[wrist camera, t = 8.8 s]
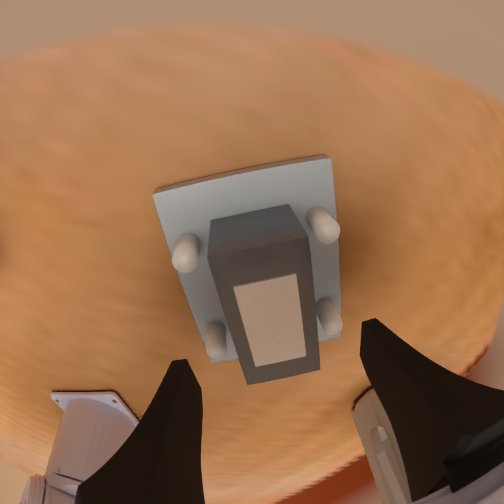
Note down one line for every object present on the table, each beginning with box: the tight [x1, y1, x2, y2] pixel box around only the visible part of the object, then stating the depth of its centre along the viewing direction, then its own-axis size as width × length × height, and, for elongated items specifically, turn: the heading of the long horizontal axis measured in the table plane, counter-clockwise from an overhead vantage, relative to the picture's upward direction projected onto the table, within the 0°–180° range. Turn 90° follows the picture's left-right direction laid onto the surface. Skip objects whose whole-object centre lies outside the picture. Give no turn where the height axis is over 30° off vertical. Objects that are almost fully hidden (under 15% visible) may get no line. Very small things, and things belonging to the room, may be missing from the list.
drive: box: [207, 204, 320, 385], centre depth 15 cm, size 8×4×4 cm, turn 11°
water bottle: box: [353, 388, 412, 504], centre depth 15 cm, size 9×8×25 cm
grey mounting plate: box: [152, 155, 343, 363], centre depth 17 cm, size 12×9×3 cm
